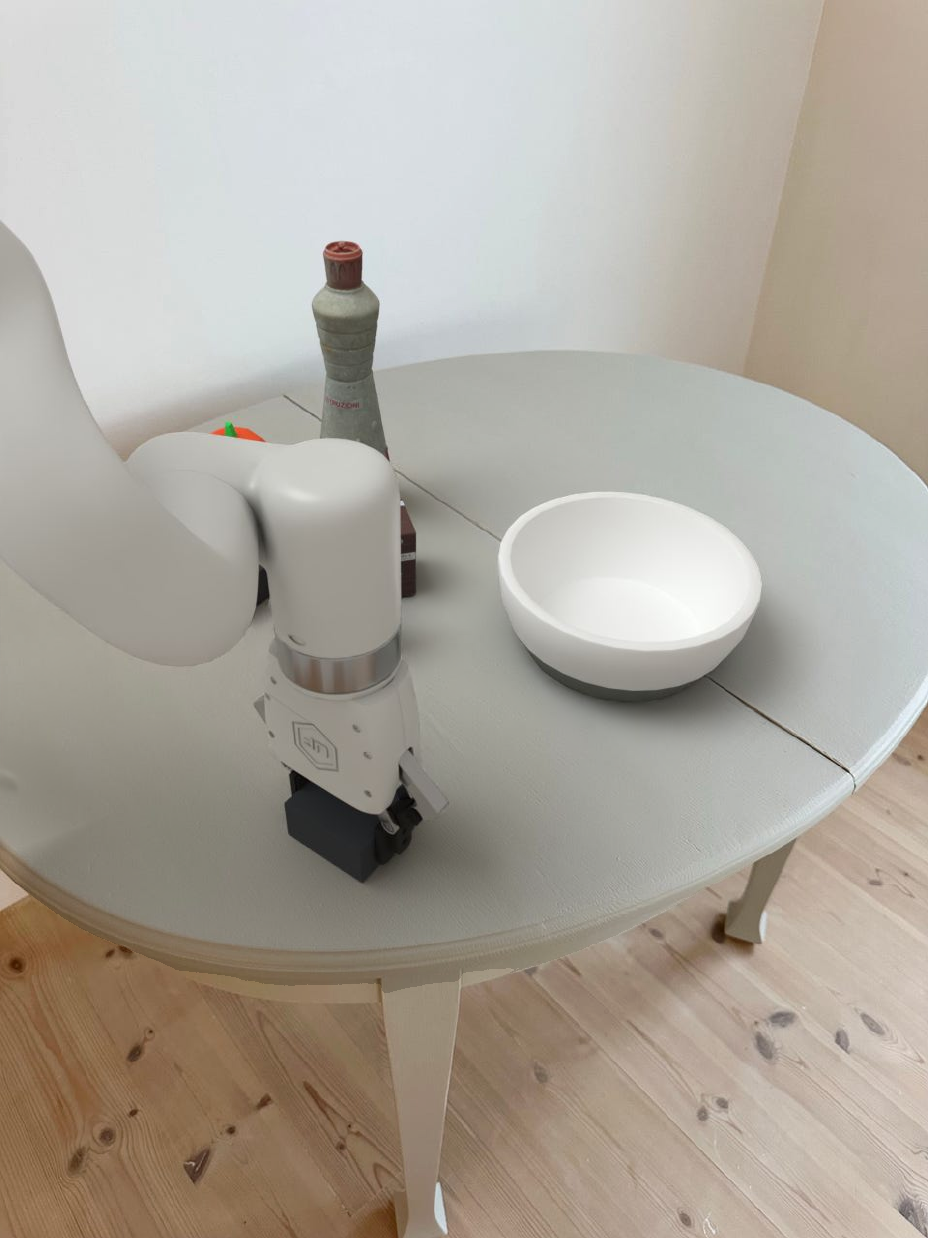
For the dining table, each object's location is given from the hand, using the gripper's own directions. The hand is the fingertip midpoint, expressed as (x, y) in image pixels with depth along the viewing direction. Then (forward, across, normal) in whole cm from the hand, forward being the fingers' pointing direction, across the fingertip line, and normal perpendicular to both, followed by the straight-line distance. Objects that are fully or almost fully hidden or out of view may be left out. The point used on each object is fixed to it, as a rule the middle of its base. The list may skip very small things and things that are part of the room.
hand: (351, 822), depth 69 cm
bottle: (+1, -27, +32) cm, 42 cm away
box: (+1, -17, +24) cm, 29 cm away
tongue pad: (+1, 0, +1) cm, 2 cm away
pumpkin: (+1, -41, +29) cm, 50 cm away
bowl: (+1, +5, +31) cm, 31 cm away
